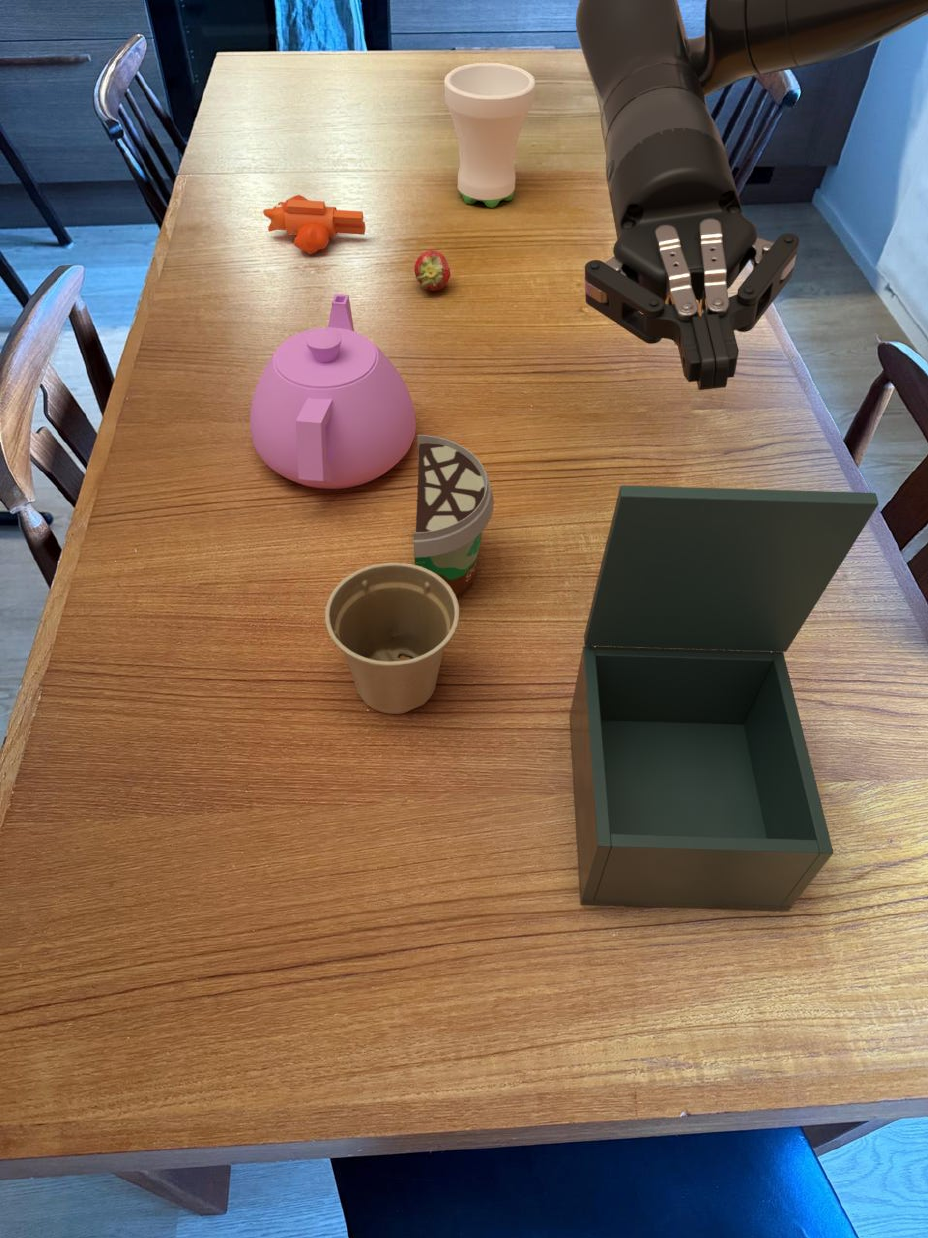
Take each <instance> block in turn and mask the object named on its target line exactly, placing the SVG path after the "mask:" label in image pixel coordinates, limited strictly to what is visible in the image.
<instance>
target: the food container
mask: <svg viewBox="0 0 928 1238" xmlns="http://www.w3.org/2000/svg"><path fill="white" fill-rule="evenodd" d="M416 437H417V473H418V474H417V497H416V498H417V499H416V516H415V522H416V523H415V532H413V533H412V534H413V558H414V565H417V566H421V567H423V568H426V569H428V570H430V571H432V572H434V573H436V574H437V575H438V576H440V577H441V578H442V579H443V580H445V582H446V583H447V584H448V585H449V586H450V587H451V588H452V590H453V592H454V593H455V596H456V598H457V600H459V599H461V598H462V597H464V596H465V595H466V593H467V592H468V591H469V590H470V588H471V587H472V586H473V584H474V581H475V579H476V574H477V570H478V569H477V568H478V562H479V556H480V549H481V542H482V534H483V531H484V530H485V529H486V527H487V526H488V524H489V522H490V520H491V519H492V515H493V512H494V507H495V506H494V505H495V499H494V493H493V489H492V484H491V480H490V477H489V476H488V472H487V470H486V469H485V467H484V465H483V464H482V462H481V461H480V459H478V457H477V456H476V455H475V454H474V453H473V452H471V451H470V450H469V449H467V448H466V447H464V446H462V445H461V444H459V443H457V442H455V441H452V440H450V439H446V438H443V437H439V436H435V435H428V434H417V436H416Z"/></svg>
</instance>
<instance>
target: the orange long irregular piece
mask: <svg viewBox="0 0 928 1238" xmlns="http://www.w3.org/2000/svg"><path fill="white" fill-rule="evenodd" d="M262 214H263V215H264V217H266V218H268V220H270V223H269V224H268V227H267V231H268V232H269V233H270V232H274V231H285V232H286V234H287V235H290V236H295V238H294V240H293V245H294V247H296V248H297V249H300V251H304V252H305V253H307V254H309V255H312V254H315V253H316V252H317V251H319V250H324V249H325V248H327V245H328V244H329V241H331V238H337V236H338V234H344V235H345V234H347V235H360V236H361V235H363V236H365V234H366V221H364V211H361V210H347V209H345V210H344V209H338V208H337V207H336V206H326V203H325V201H324V200H323V201H322V200H309V199H307V198H306V197H305V196H303V195H301V194H296V195H294V196H292V197H290V198H287V199H286V200H285V202H284V201H279V202H278V203H277V204H276V205H275V206H273V207H272V208H265V209H263V211H262Z"/></svg>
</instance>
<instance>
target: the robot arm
mask: <svg viewBox="0 0 928 1238" xmlns="http://www.w3.org/2000/svg"><path fill="white" fill-rule="evenodd" d="M704 9H705V10H704V11H705V12H704V34H703V35H701V36H699V37H694V38H688V35H687V31H686V27H685V24H684V20H683V17H682V13H681V9H680V5H679V2H678V0H579V2H578V3H577V9H576V15H575V28H576V34H577V38H578V41H579V45H580V49H581V52H582V55H583V58H584V61H585V62H584V63H585V65H586V67H587V71H588V74H589V76H590V80H591V83H592V85H593V86H592V87H593V88H594V90H595V94H596V99H597V105H598V108H599V114H600V115H599V116H600V127H601V135H602V140H603V145H604V150H605V176H606V184H607V190H608V195H609V201H610V207H611V212H612V218H613V223H614V230H615V235H616V241H615V243H614V245H613V248H612V254H613V256H612V257H611V258H609V259H608V260H606V261H605V262H604V261H602V260H599V259H592V260H590V261H588V262H587V263H585V265H584V292H585V294H584V296H585V303H586V304H587V305H588V306H590V307H591V308H592V309H594V310H596V311H597V312H599V313H600V314H602V315H603V316H605V317H606V318H608V320H611V321H612V322H614V323H615V324H617V326H620V327H621V328H622V329H624V330H626V331H627V332H629V333H630V334H632V335H633V336H634V337H636V338H638V339H640V341H642V342H644V343H645V344H650V345H655V344H658V343H660V342H661V341H662V339H666V340H671V341H673V343H674V344H675V346H677V349H678V354H679V359H680V364H681V368H682V372H683V377H684V378H685V379H686V380H687V382H688V383H694V382H696V385H697V389H698V391H706V390H716V389H723V388H724V389H725V388H726V387H727V385H728V378H729V379H730V378H735V374H736V371H737V365H738V359H739V353H740V350H739V346H738V342H737V339H736V334H735V331H737V332H740V333H746V332H750V331H751V330H753V329H754V327H755V326H756V324H757V323H758V322H759V321H760V319H761V318H762V316H763V315H764V314H765V313H766V311H767V310H768V309H769V307H770V306H771V305H772V304H773V302H774V301H775V299H776V298H777V297H778V296H779V294H780V293H781V292H782V290H783V289H784V288H785V286H786V285H787V284H788V283H789V281H790V280H791V279H792V277H793V272H794V267H795V263H796V259H797V254H798V248H799V244H800V238H799V236H798V235H796V234H793V233H783V234H780V235H779V236H778V237H777V239H776V240H775V241H772V240H769V239H766V238H763V237H760V236H758V230H757V227H756V226H755V224H754V223H753V222H752V221H750V220H749V219H748V218H747V217H746V216H745V215H744V213H743V209H742V205H741V201H740V196H739V194H738V193H739V192H738V190H737V185H736V184H735V180H734V176H733V173H732V169H731V167H730V163H729V161H730V160H729V153H728V149H727V147H726V145H725V143H723V139H722V135H721V133H720V131H719V128H718V126H717V124H716V122H715V120H714V119H713V117H712V116H711V115H712V114H711V113H710V109H709V106H708V102H707V98H706V97H708V96H709V95H712V94H714V93H717V92H718V91H720V90H723V89H724V88H727V87H729V86H731V85H733V84H735V83H738V82H739V81H742V80H744V79H748V78H751V77H757V76H763V75H768V74H773V73H779V72H785V71H788V70H793V69H799V68H803V67H809V66H814V65H818V64H822V63H826V62H829V61H833V60H836V59H839V58H843V57H845V56H849V55H851V54H853V53H856V52H858V51H861V50H863V49H865V48H868V47H870V46H872V45H874V44H876V43H877V42H879V41H881V40H884V39H885V38H887V37H889V36H891V35H893V34H894V33H896V32H898V31H900V30H902V29H904V28H905V27H907V26H909V25H910V24H912V23H914V22H916V21H918V20H920V19H921V18H923V17H926V16H927V15H928V0H705V7H704ZM750 261H752V270H751V272H750V273H749V274H748V276H747V277H746V278H745V280H744V281H743V282H742V283H741V284H740V286H739V287H738V289H737V293H736V294H734V295H731V296H729V292H728V291H729V289H730V288H731V287H732V286H733V284H734V283H735V282H736V279H738V277H739V276H740V274H741V273H742V272H743V270H744V269H745V267H746V266H747V265H748V263H749V262H750Z"/></svg>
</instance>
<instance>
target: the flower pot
mask: <svg viewBox="0 0 928 1238" xmlns="http://www.w3.org/2000/svg"><path fill="white" fill-rule="evenodd" d="M459 604H460V603H459V601H458V599H457V598H456V596H455V593H454V592H453V590H452V588H451V587H450V586H449V585H448V584H447V583H446V582H445V580H443V579H442V578H441V577H440V576H438V575H437V574H436V573H434V572H432V571H430V570H428V569H426V568H423V567H421V566H417V565H415V564H414V563H408V562H407V563H406V562H397V561H396V562H395V561H390V562H384V563H379V562H378V563H375V564H370V565H367V566H364V567H362V568H360V569H357V570H355V571H353V572H351V573H350V574H348V575H347V576H346V577H344V578H343V579H341V581H340V582H339V583H338V584H337V585H336V587H334V589H333V590H332V591H331V593H330V595H329V597H328V599H327V601H326V604H325V608H324V623H325V627H326V630H327V633H328V635H329V637H330V639H331V641H332V642H333V643H334V645H335V646H336V647H337V648H338V649H339V650H340V651H341V652H342V654H343V655H344V657H345V660H346V663H347V665H348V668H349V671H350V674H351V677H352V679H353V683H354V685H355V690H356V691H357V693H358V695H359V697H360V699H362V701H363V702H364V703H365V705H366V706H368V707H369V708H371V709H372V710H375V711H377V712H380V713H383V714H389V715H400V714H406V713H408V712H410V711H412V710H414V709H417V708H418V707H421V706H424V705H425V704H426V703H427V702H428V701H429V700H430V698H431V697H432V696H433V694H434V692H435V690H436V686H437V682H438V676H439V672H440V667H441V663H442V659H443V655H444V651H445V649H446V647H447V646H448V644H449V643H450V641H451V640H452V638H453V637H454V635H455V633H456V631H457V629H458V626H459V622H460V605H459ZM400 655H404V656H407V657H409V659H404V658H401V657H400V658H399V656H400Z"/></svg>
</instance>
